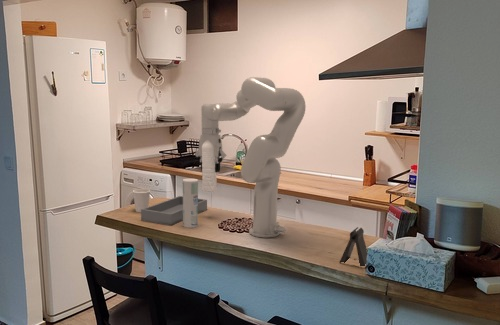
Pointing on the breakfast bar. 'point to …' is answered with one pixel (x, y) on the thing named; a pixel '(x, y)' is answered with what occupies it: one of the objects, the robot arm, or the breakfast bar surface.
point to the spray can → (190, 203)
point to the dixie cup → (141, 198)
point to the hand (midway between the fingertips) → (210, 171)
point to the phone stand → (360, 244)
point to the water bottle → (208, 168)
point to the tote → (169, 211)
